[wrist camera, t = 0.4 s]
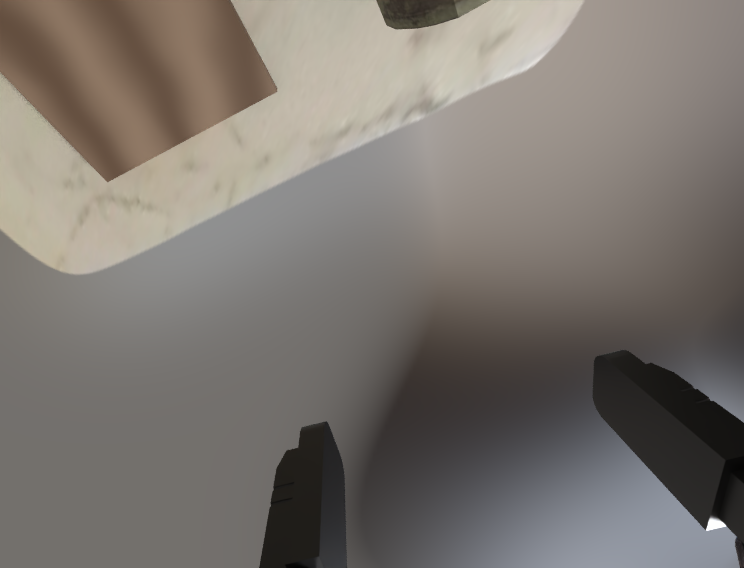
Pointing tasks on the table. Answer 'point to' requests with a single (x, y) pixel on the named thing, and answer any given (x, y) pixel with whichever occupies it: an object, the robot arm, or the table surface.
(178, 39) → the walnut board
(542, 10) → the table surface
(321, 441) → the robot arm
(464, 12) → the tabletop clock
